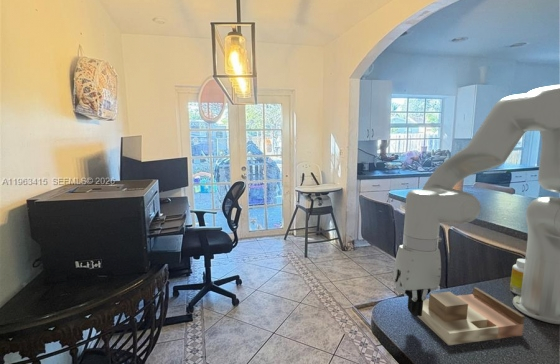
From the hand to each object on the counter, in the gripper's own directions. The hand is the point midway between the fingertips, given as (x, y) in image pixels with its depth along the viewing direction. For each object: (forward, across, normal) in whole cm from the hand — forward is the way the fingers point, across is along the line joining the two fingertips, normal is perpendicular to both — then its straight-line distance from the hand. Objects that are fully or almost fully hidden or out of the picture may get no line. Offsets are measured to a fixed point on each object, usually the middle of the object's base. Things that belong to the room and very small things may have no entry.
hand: (414, 312), depth 73 cm
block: (+1, -9, 0) cm, 9 cm away
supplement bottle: (+4, -43, -10) cm, 44 cm away
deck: (+4, -14, 0) cm, 15 cm away
